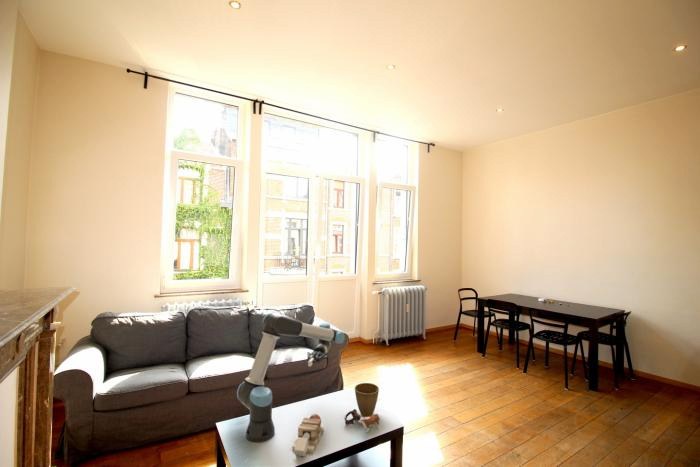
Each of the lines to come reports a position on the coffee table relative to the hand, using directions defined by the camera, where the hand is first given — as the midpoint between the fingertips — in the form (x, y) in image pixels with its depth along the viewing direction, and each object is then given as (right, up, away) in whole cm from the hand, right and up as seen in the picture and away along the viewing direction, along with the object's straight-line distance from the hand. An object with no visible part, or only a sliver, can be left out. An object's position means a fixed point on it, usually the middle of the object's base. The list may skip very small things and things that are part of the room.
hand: (309, 364), depth 195 cm
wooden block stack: (+2, -33, -16) cm, 37 cm away
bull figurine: (+35, -34, -7) cm, 49 cm away
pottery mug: (+26, -35, -1) cm, 43 cm away
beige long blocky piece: (+2, -33, -18) cm, 38 cm away
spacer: (0, -31, -29) cm, 43 cm away
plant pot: (+34, -35, +9) cm, 49 cm away
